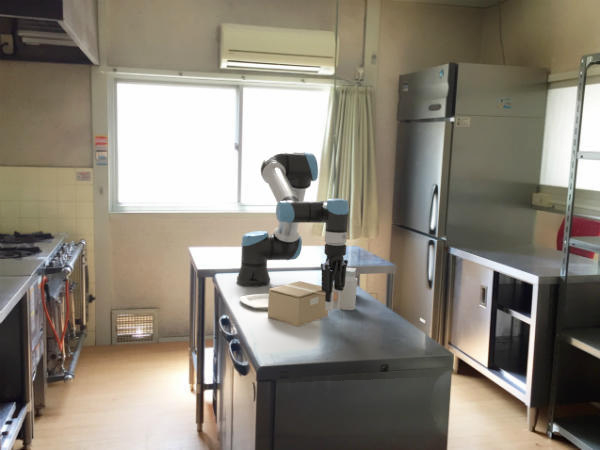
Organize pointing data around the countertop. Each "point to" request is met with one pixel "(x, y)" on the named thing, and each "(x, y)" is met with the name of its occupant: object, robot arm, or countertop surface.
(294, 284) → the flap
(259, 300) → the plate
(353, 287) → the mug
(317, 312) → the carton
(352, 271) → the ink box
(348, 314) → the countertop surface
